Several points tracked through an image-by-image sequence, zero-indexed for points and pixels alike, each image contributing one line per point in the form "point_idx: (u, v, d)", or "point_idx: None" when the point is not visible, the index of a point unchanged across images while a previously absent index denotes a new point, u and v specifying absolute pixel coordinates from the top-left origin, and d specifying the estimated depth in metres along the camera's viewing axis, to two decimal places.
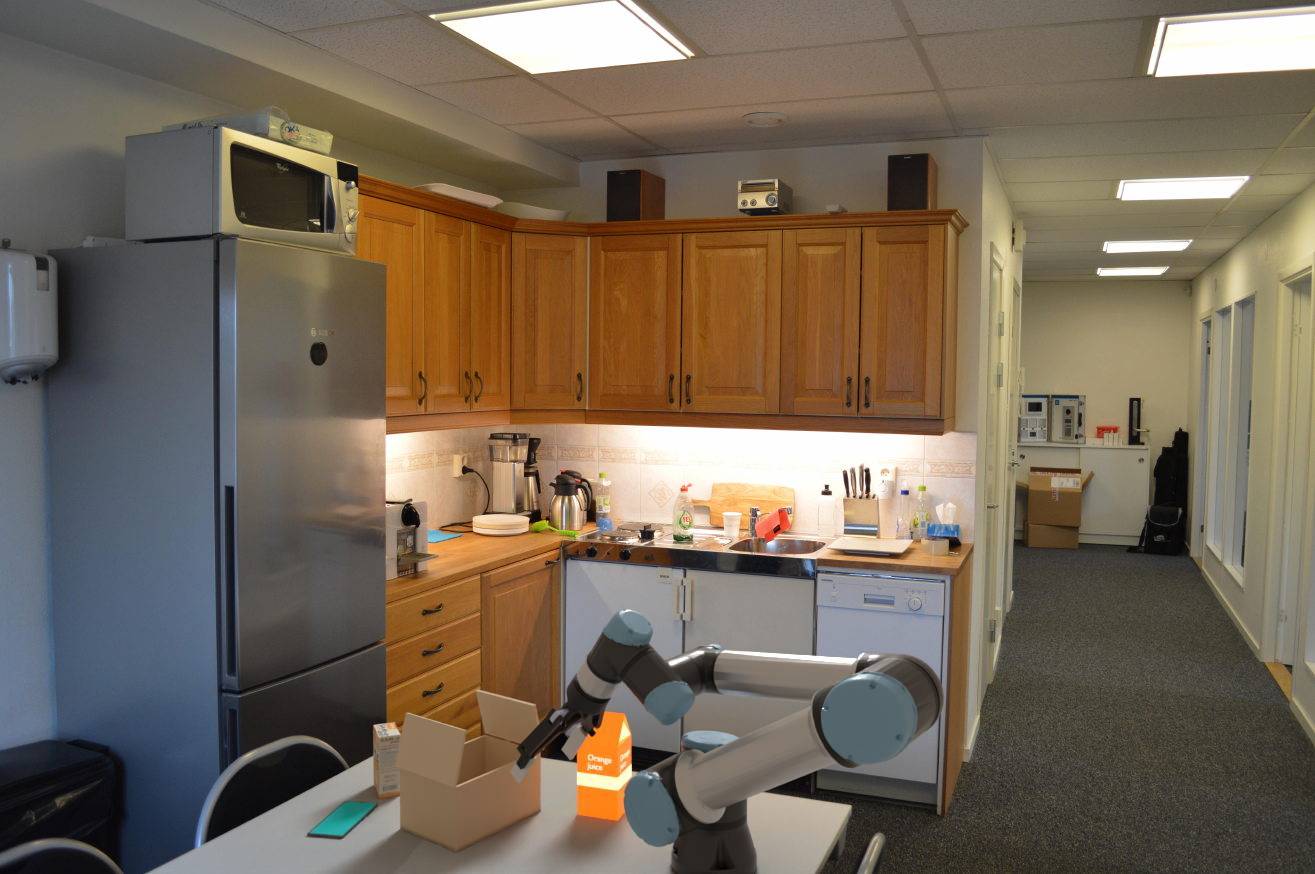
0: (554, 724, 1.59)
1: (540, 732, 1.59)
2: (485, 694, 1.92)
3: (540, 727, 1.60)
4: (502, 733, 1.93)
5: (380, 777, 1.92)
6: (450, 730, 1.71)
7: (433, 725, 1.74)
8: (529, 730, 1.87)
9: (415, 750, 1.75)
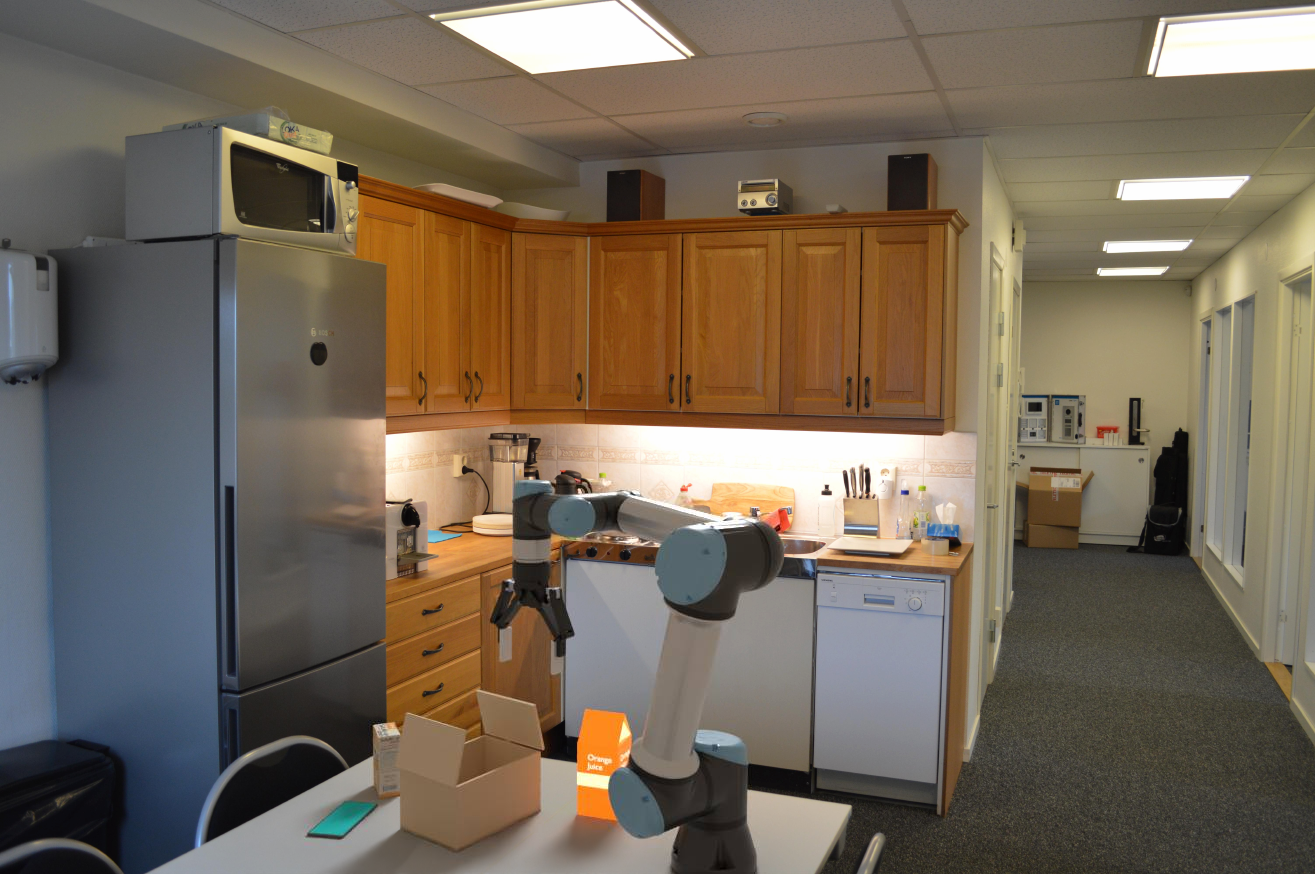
0: None
1: None
2: (485, 694, 1.92)
3: None
4: (502, 733, 1.93)
5: (380, 777, 1.92)
6: (450, 730, 1.71)
7: (433, 725, 1.74)
8: (529, 730, 1.87)
9: (415, 750, 1.75)
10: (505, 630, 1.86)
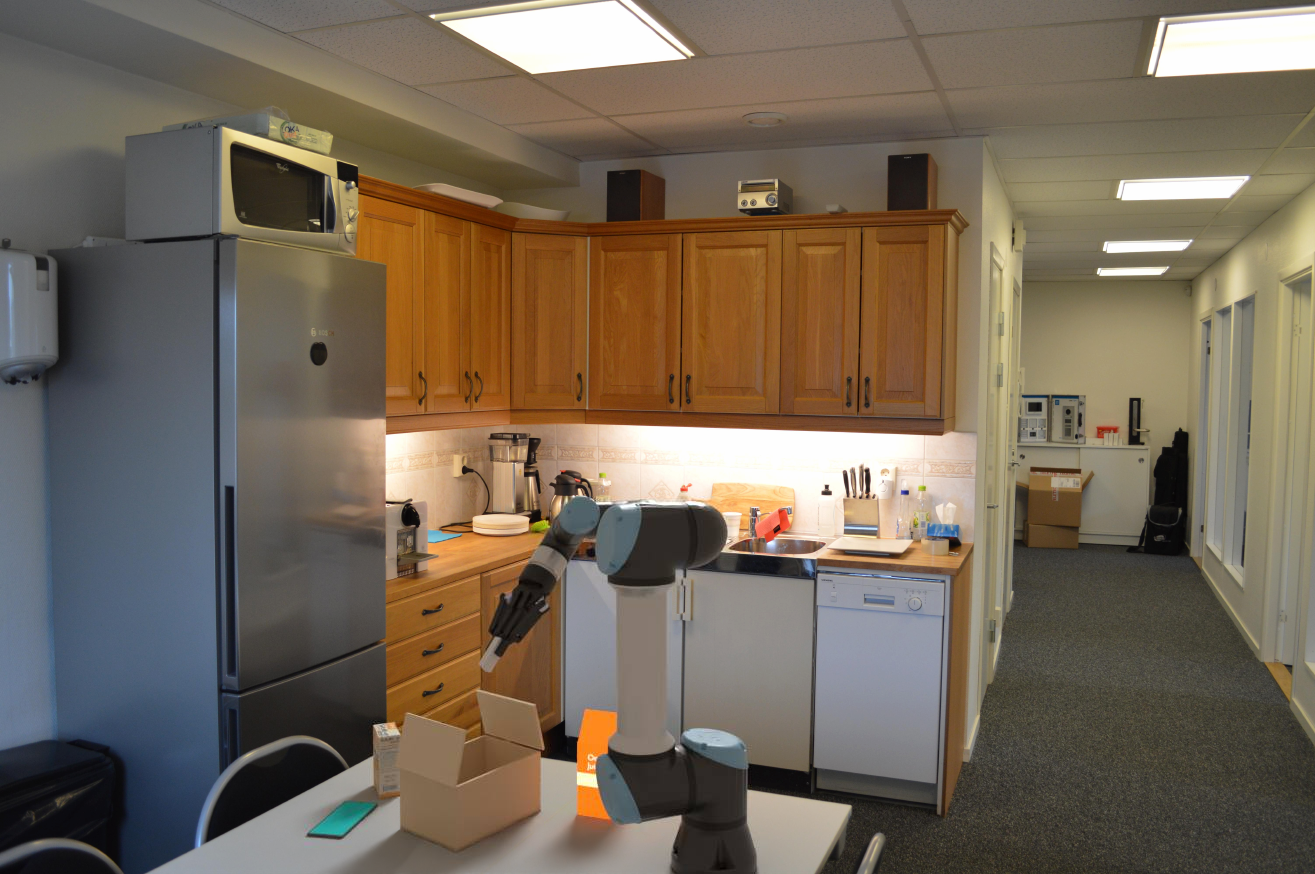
0: (500, 600, 1.95)
1: None
2: (485, 694, 1.92)
3: None
4: (502, 733, 1.93)
5: (380, 777, 1.92)
6: (450, 730, 1.71)
7: (433, 725, 1.74)
8: (529, 730, 1.87)
9: (415, 750, 1.75)
10: None
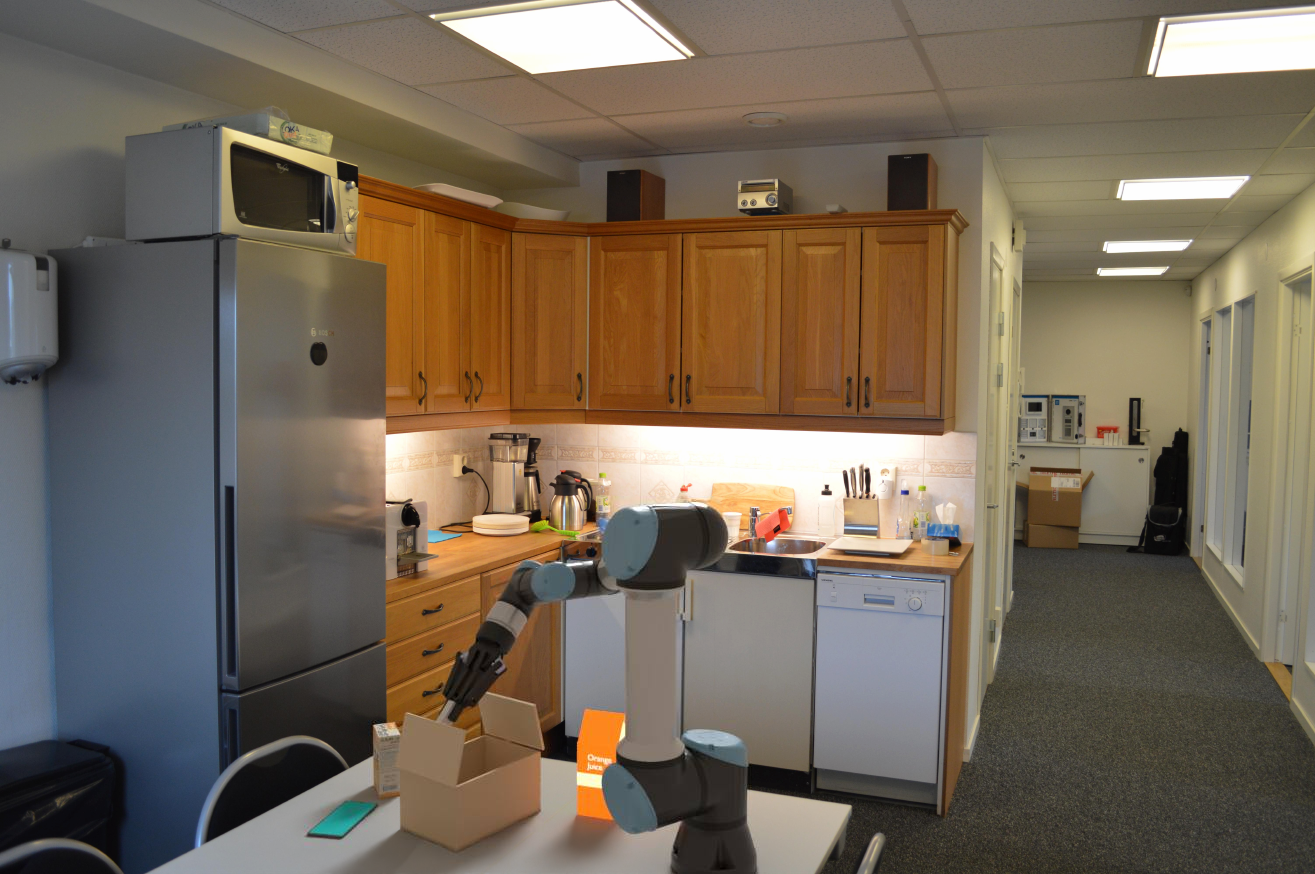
0: None
1: None
2: (485, 694, 1.92)
3: None
4: (502, 733, 1.93)
5: (380, 777, 1.92)
6: (450, 730, 1.71)
7: (433, 725, 1.74)
8: (529, 730, 1.87)
9: (415, 750, 1.75)
10: None
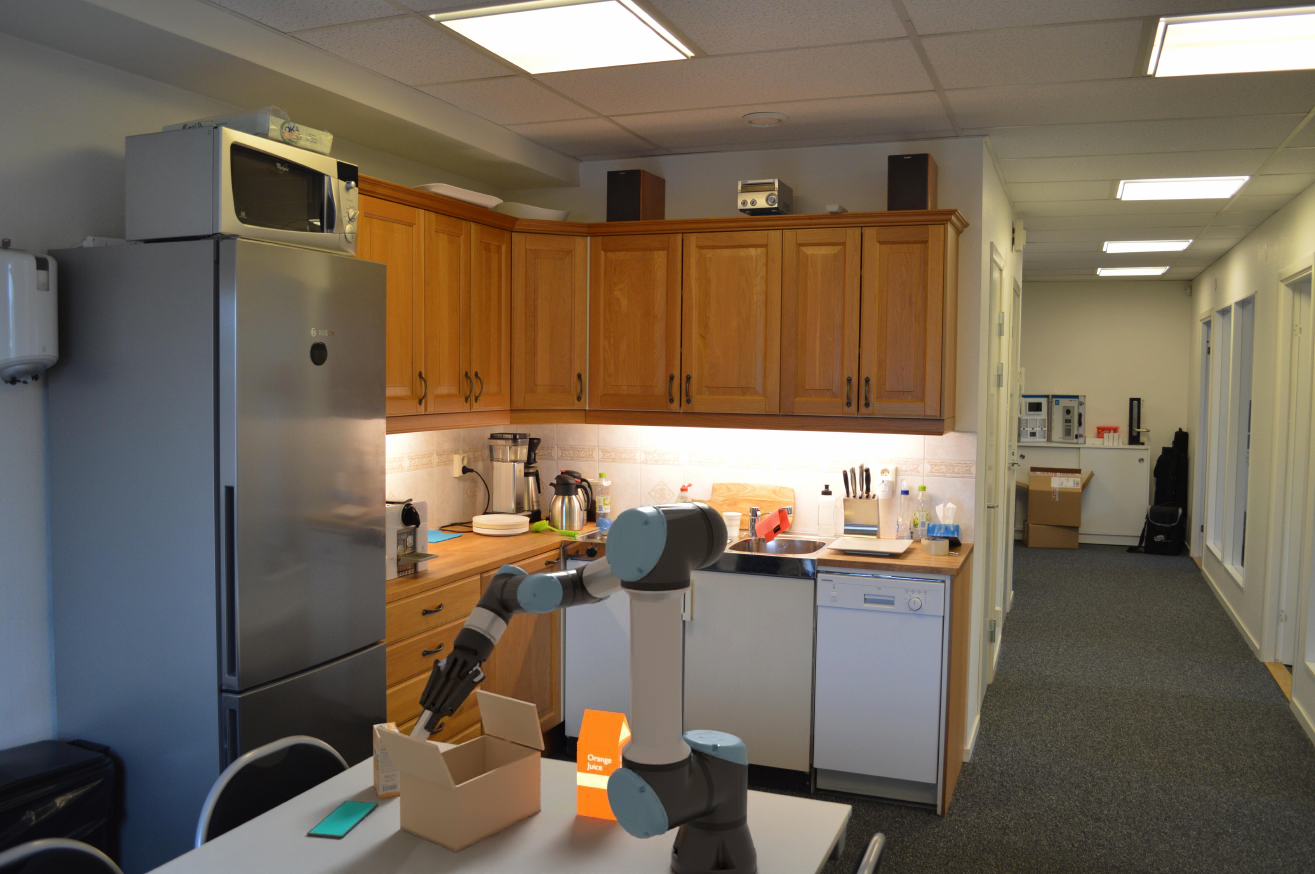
0: None
1: None
2: (485, 694, 1.92)
3: None
4: (502, 733, 1.93)
5: (380, 777, 1.92)
6: (423, 746, 1.66)
7: (406, 740, 1.69)
8: (529, 730, 1.87)
9: (404, 758, 1.73)
10: None
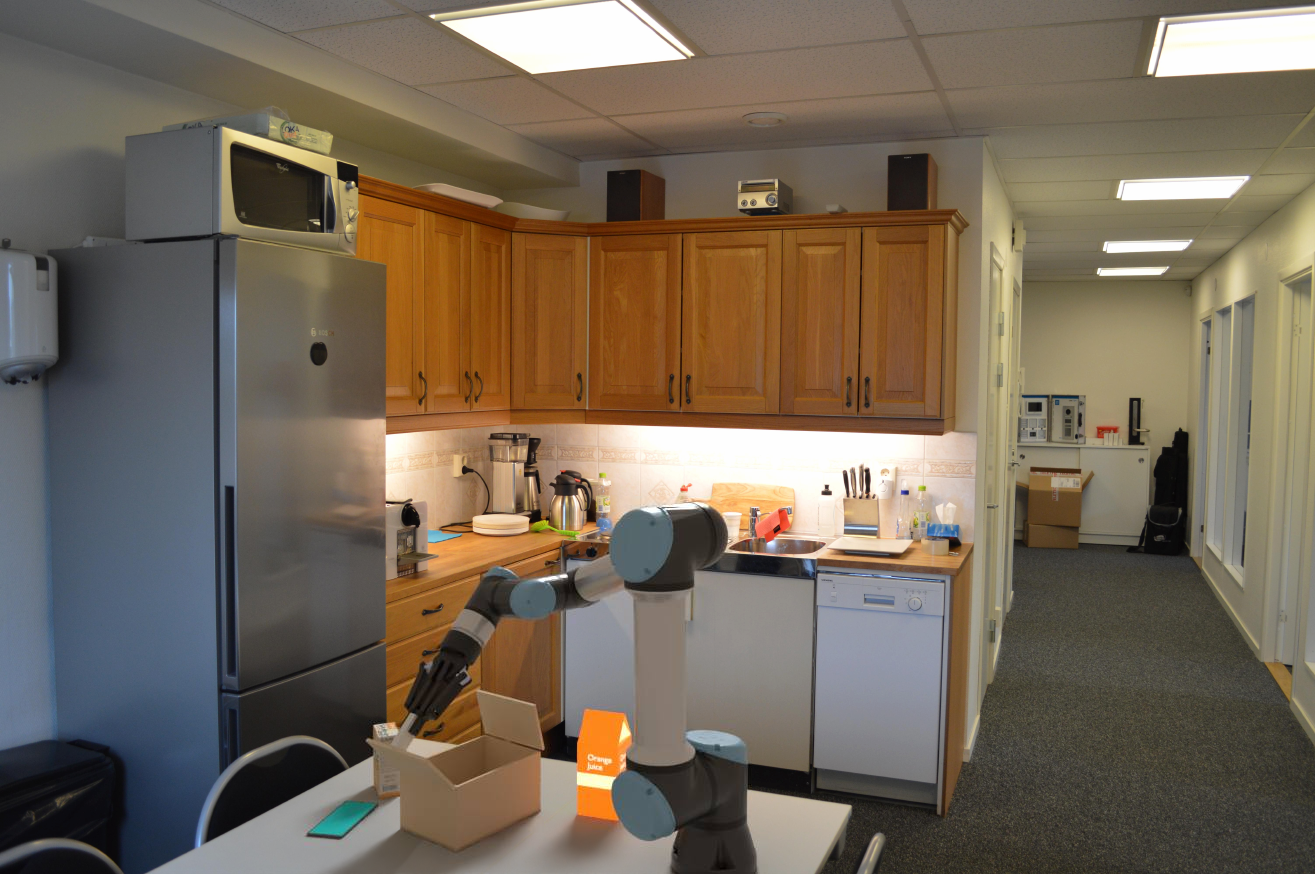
0: (419, 670, 1.78)
1: None
2: (485, 694, 1.92)
3: None
4: (502, 733, 1.93)
5: (380, 777, 1.92)
6: (414, 758, 1.65)
7: (396, 752, 1.67)
8: (529, 730, 1.87)
9: (400, 764, 1.73)
10: None
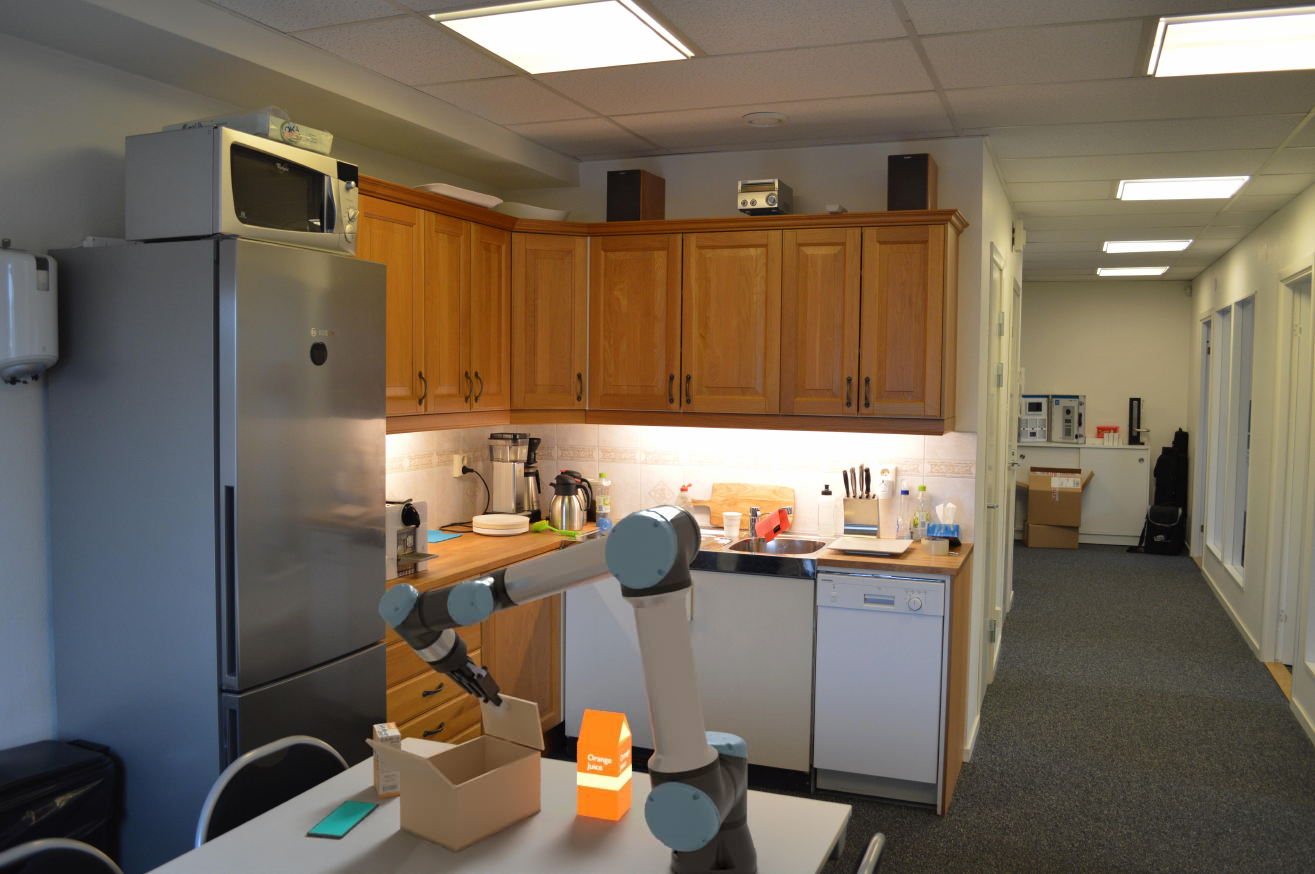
0: None
1: None
2: None
3: None
4: (502, 733, 1.93)
5: (380, 777, 1.92)
6: (414, 759, 1.65)
7: (396, 752, 1.67)
8: (530, 730, 1.87)
9: (400, 764, 1.73)
10: None
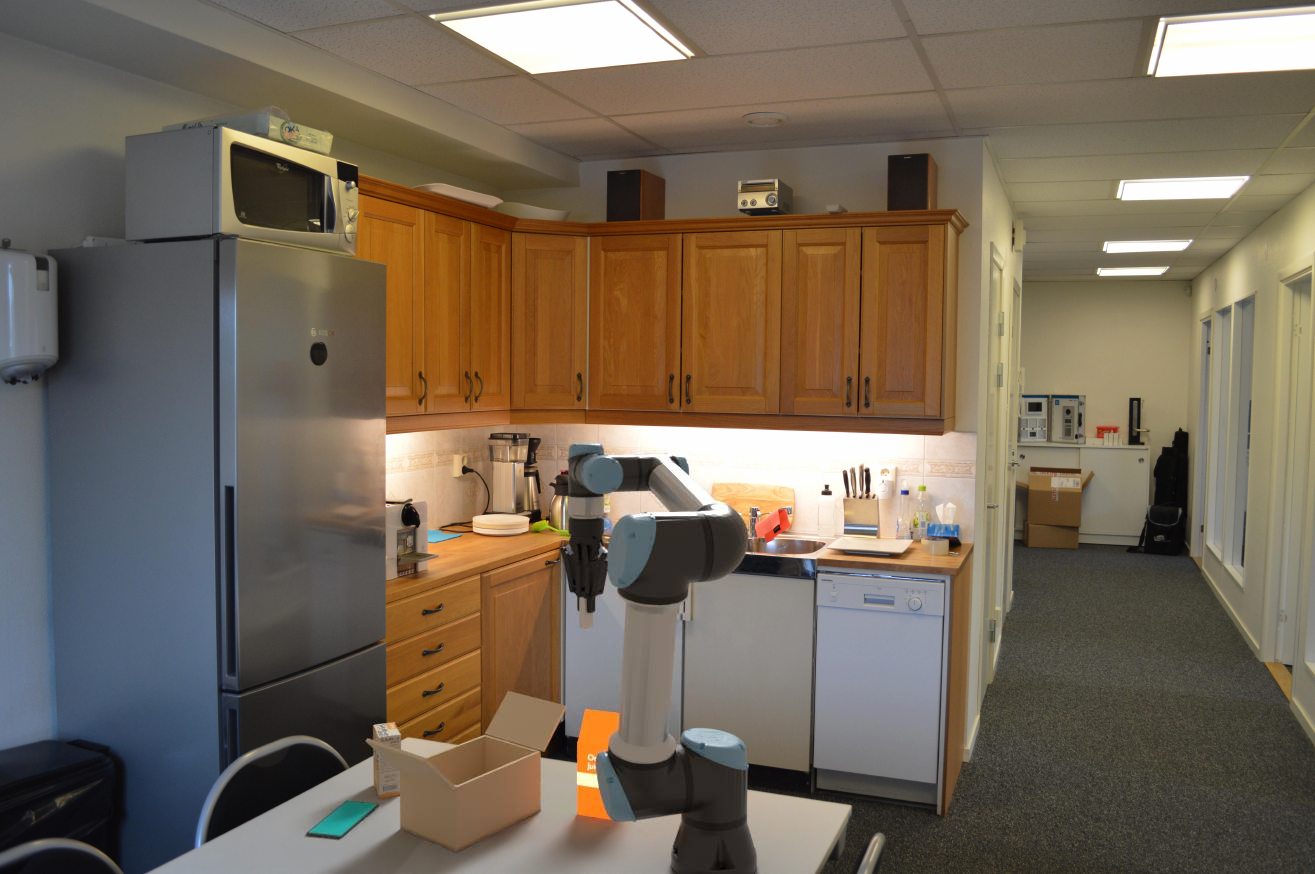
0: (563, 555, 1.99)
1: None
2: (516, 694, 2.00)
3: None
4: (506, 733, 1.93)
5: (380, 777, 1.92)
6: (414, 759, 1.65)
7: (396, 752, 1.67)
8: (541, 729, 1.90)
9: (400, 764, 1.73)
10: None
